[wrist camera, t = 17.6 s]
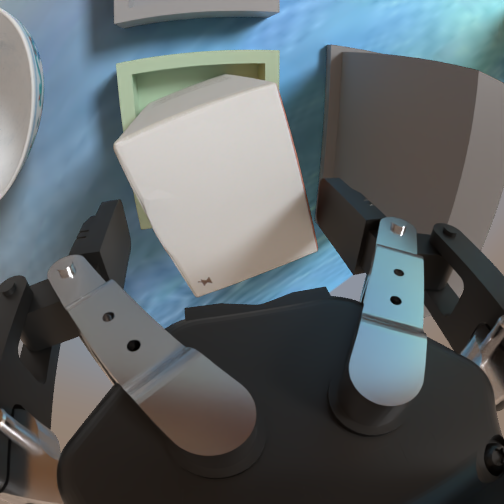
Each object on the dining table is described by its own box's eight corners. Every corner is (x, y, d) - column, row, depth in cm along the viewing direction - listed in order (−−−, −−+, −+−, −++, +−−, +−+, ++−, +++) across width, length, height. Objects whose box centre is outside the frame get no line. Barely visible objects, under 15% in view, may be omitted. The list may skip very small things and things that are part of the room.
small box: (257, 162, 24) (321, 254, 14) (185, 190, 24) (194, 303, 14) (226, 70, 19) (278, 79, 9) (146, 102, 19) (105, 147, 9)
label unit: (393, 57, 21) (530, 90, 9) (372, 214, 31) (459, 308, 19) (326, 44, 20) (467, 55, 8) (314, 220, 30) (393, 332, 18)
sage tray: (267, 51, 20) (279, 50, 17) (266, 197, 27) (276, 212, 25) (124, 63, 18) (116, 63, 15) (144, 212, 25) (141, 229, 23)
